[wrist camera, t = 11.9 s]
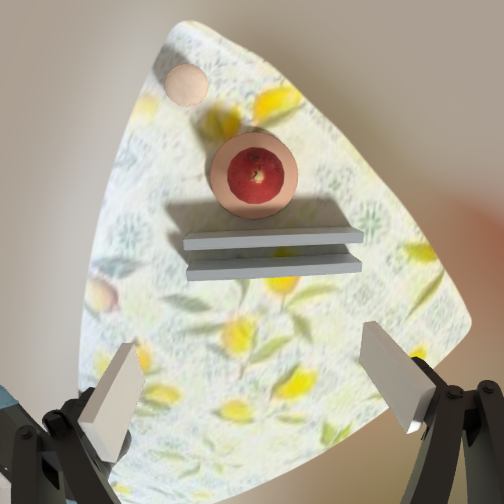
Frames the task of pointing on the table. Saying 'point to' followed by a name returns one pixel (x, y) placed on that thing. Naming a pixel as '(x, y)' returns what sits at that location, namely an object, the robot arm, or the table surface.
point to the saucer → (223, 161)
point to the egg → (186, 85)
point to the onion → (255, 175)
